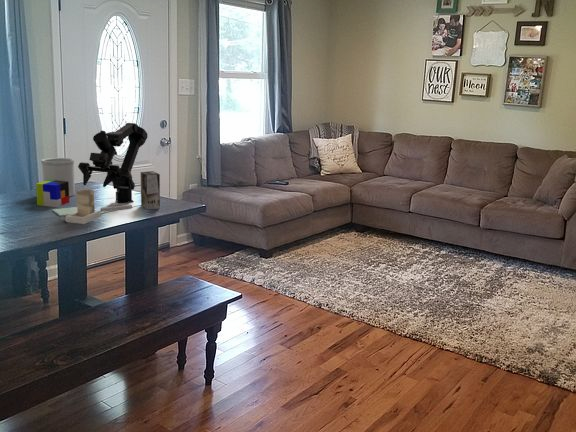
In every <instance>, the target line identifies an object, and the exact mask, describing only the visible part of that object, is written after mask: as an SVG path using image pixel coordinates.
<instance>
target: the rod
mask: <svg viewBox="0 0 576 432" xmlns="http://www.w3.org/2000/svg"><path fill="white" fill-rule="evenodd" d="M127 209H133V204H126V205H125V204H124V205H123V204H122V205H114V206H104V207H101V208H100V211H101V212H108V211H110V212H111V211H116V210H117V211H118V210H127Z"/></svg>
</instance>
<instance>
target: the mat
mask: <svg viewBox="0 0 576 432" xmlns="http://www.w3.org/2000/svg"><path fill="white" fill-rule="evenodd" d="M51 210H52V212H53V213H55V214H56V215H58V216H59V217H65V216H67V215H69V214H72V213H74V212H77V206H74V207H72V206H71V207H65V208H64V207H63V208H54V209H51Z"/></svg>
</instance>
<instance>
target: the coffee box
mask: <svg viewBox="0 0 576 432" xmlns="http://www.w3.org/2000/svg"><path fill="white" fill-rule="evenodd" d="M160 177H161V175H160V173H158V172H156V171H153V170H152V171H140V206H142V207H143V208H144V209H146V210H158V209H161V205H160V204H161V201H160V200H161V195H160V193H161V190H160V189H161V187H160V186H161V184H160V183H161V181H160V180H161V178H160Z"/></svg>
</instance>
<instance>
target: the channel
mask: <svg viewBox="0 0 576 432" xmlns="http://www.w3.org/2000/svg"><path fill="white" fill-rule="evenodd" d="M101 212H102V211H101V210H96V211H95V212H94V213H91V214H89V215H87V216H84V217H78V213H77V212H74V213H72V214H69V215H67V216H64V217H65V222H66V223H72V224H80V225H81V224H83V225H85V224H87V223H89V222H92V221H94V220H96V219H98V218H101V217H102V216H101V215H102V213H101Z"/></svg>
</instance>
